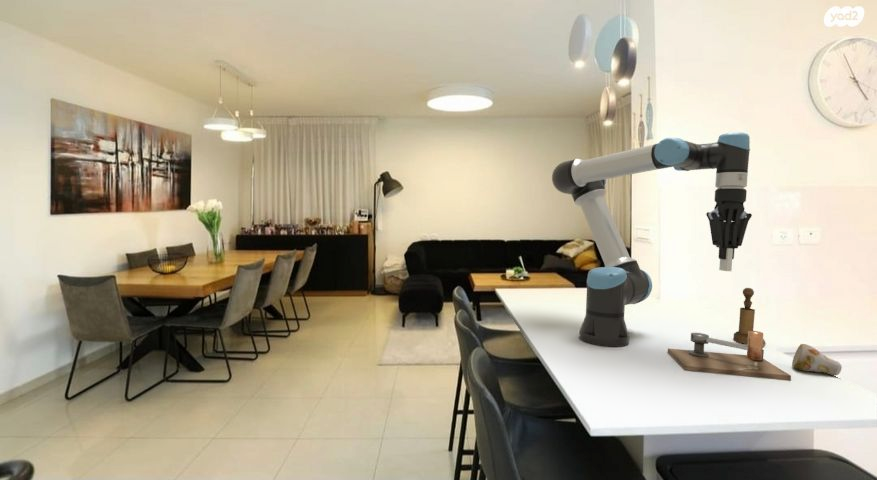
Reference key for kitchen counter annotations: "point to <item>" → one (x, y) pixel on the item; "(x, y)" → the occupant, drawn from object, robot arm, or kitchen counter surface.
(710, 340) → the lever
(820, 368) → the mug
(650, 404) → the kitchen counter surface
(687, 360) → the wooden board
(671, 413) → the kitchen counter surface
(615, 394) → the kitchen counter surface
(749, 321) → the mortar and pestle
